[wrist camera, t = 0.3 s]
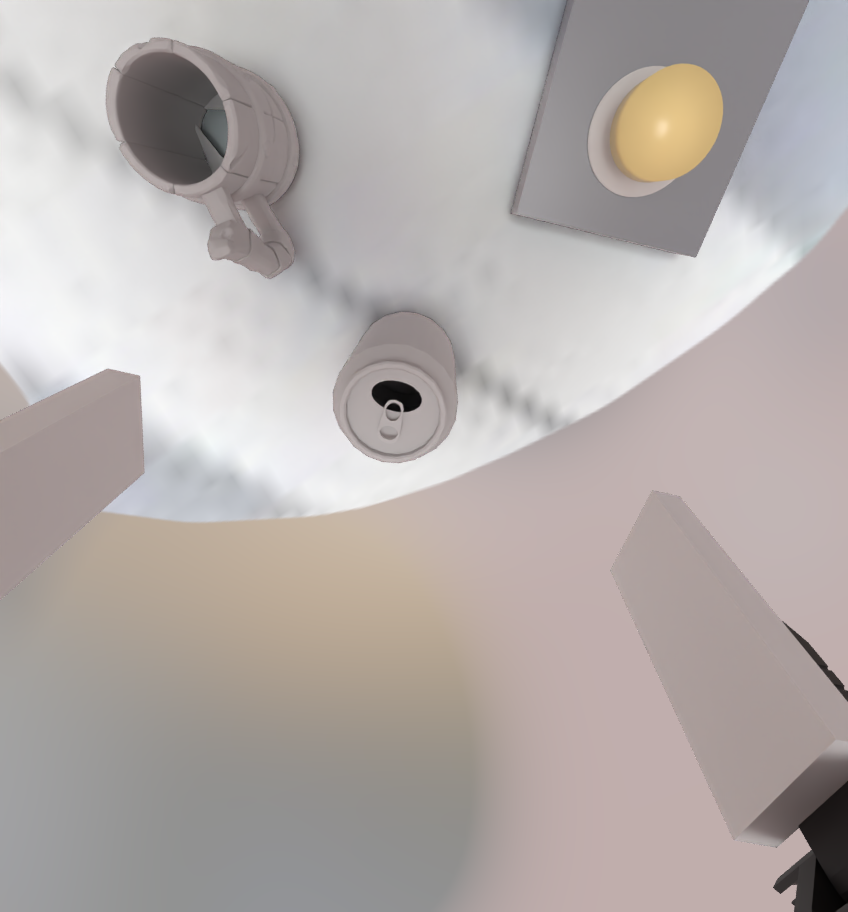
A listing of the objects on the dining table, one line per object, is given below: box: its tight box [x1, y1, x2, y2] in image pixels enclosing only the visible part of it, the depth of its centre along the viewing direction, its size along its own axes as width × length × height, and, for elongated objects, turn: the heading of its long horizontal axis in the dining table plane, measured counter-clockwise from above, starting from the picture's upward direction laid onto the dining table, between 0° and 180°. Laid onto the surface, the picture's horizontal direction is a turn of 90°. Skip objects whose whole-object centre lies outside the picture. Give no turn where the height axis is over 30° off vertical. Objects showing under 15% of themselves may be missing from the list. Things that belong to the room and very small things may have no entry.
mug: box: [106, 38, 299, 279], centre depth 27 cm, size 8×12×12 cm, turn 20°
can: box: [333, 312, 458, 463], centre depth 33 cm, size 8×8×12 cm
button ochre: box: [610, 64, 723, 183], centre depth 26 cm, size 5×5×2 cm
